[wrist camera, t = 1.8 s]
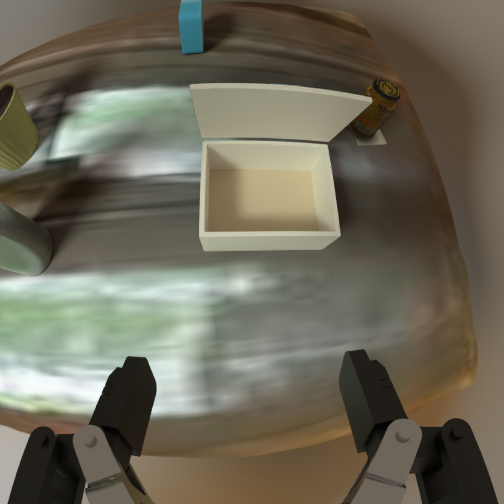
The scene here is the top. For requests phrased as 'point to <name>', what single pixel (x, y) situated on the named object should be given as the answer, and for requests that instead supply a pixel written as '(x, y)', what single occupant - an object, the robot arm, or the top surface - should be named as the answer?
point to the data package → (191, 26)
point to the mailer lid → (273, 111)
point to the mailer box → (266, 196)
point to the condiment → (375, 113)
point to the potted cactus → (15, 130)
